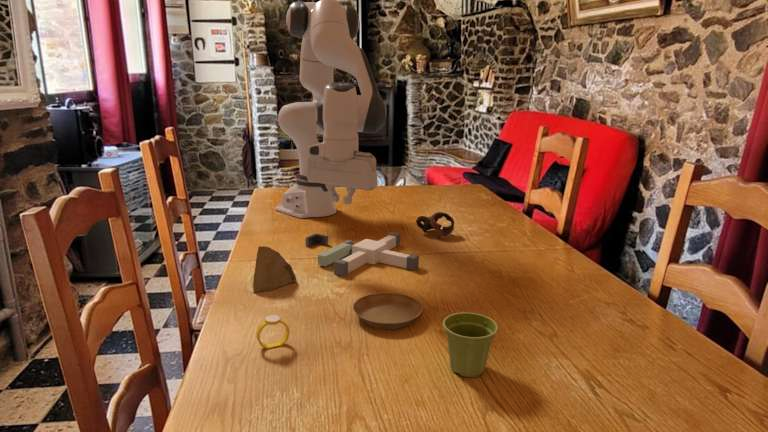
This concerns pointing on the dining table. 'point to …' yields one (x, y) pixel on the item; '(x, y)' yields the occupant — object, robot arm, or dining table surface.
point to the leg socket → (316, 239)
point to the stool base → (376, 255)
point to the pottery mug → (436, 224)
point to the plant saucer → (387, 310)
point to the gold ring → (272, 321)
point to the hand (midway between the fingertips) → (341, 202)
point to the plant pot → (469, 342)
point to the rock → (271, 270)
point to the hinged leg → (335, 253)
